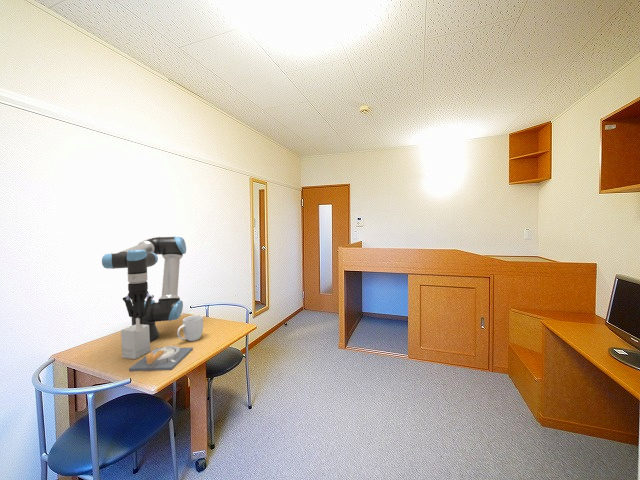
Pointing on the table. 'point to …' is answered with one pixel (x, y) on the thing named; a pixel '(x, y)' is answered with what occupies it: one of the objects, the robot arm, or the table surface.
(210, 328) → the table surface
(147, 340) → the supplement box
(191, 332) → the mug
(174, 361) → the panel
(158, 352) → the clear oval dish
